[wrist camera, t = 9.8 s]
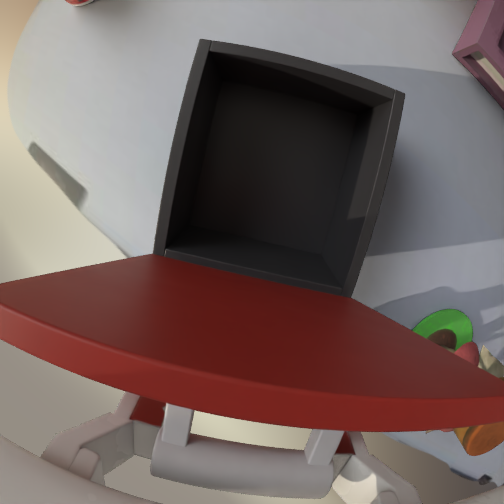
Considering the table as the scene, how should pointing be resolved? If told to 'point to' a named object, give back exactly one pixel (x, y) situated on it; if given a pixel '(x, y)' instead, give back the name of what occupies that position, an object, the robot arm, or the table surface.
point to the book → (485, 46)
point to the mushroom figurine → (460, 343)
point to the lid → (244, 365)
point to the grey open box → (277, 168)
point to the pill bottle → (79, 2)
